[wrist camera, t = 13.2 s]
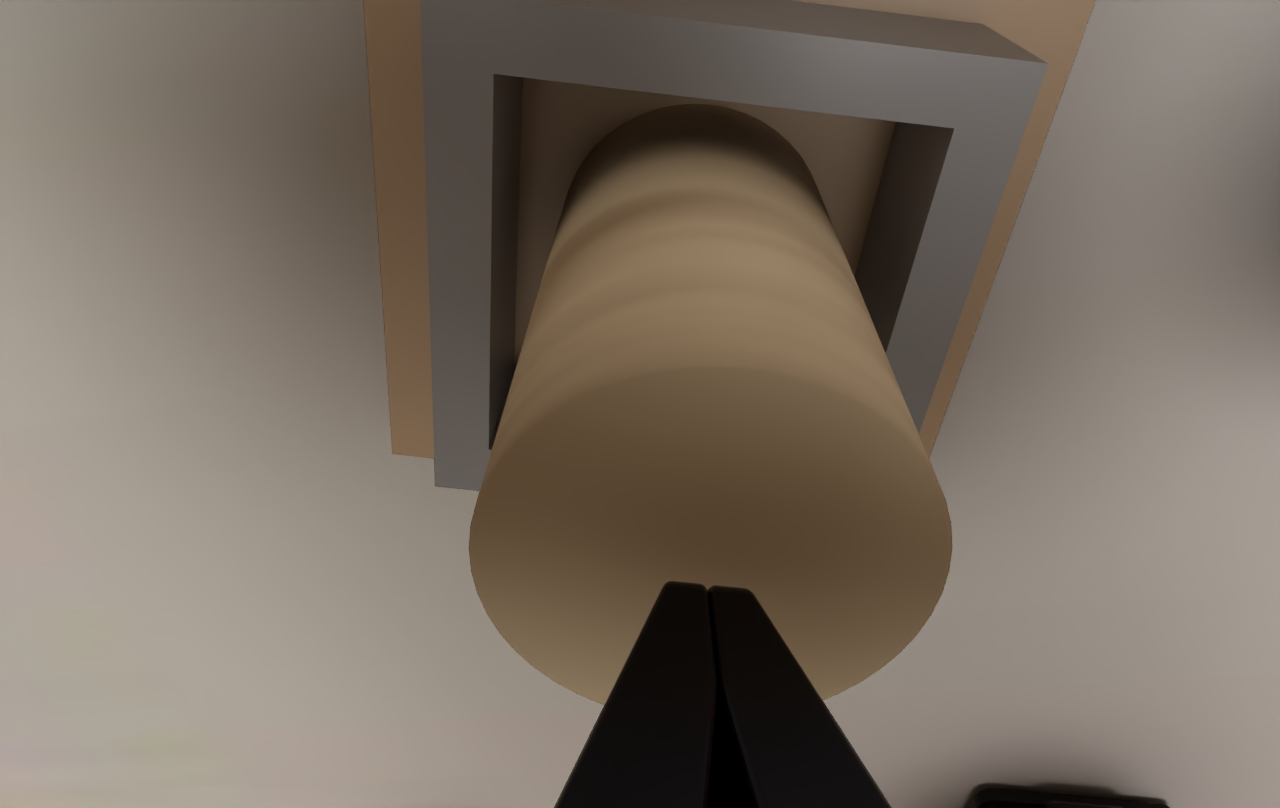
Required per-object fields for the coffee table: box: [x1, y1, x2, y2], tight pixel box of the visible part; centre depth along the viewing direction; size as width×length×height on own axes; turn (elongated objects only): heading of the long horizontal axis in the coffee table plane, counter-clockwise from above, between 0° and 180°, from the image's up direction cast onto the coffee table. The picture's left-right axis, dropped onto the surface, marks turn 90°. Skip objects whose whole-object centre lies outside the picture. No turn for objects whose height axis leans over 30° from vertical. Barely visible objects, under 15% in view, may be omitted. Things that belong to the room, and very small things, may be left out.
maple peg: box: [469, 104, 952, 705], centre depth 13 cm, size 5×5×9 cm
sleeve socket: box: [363, 0, 1096, 491], centre depth 16 cm, size 12×12×4 cm
